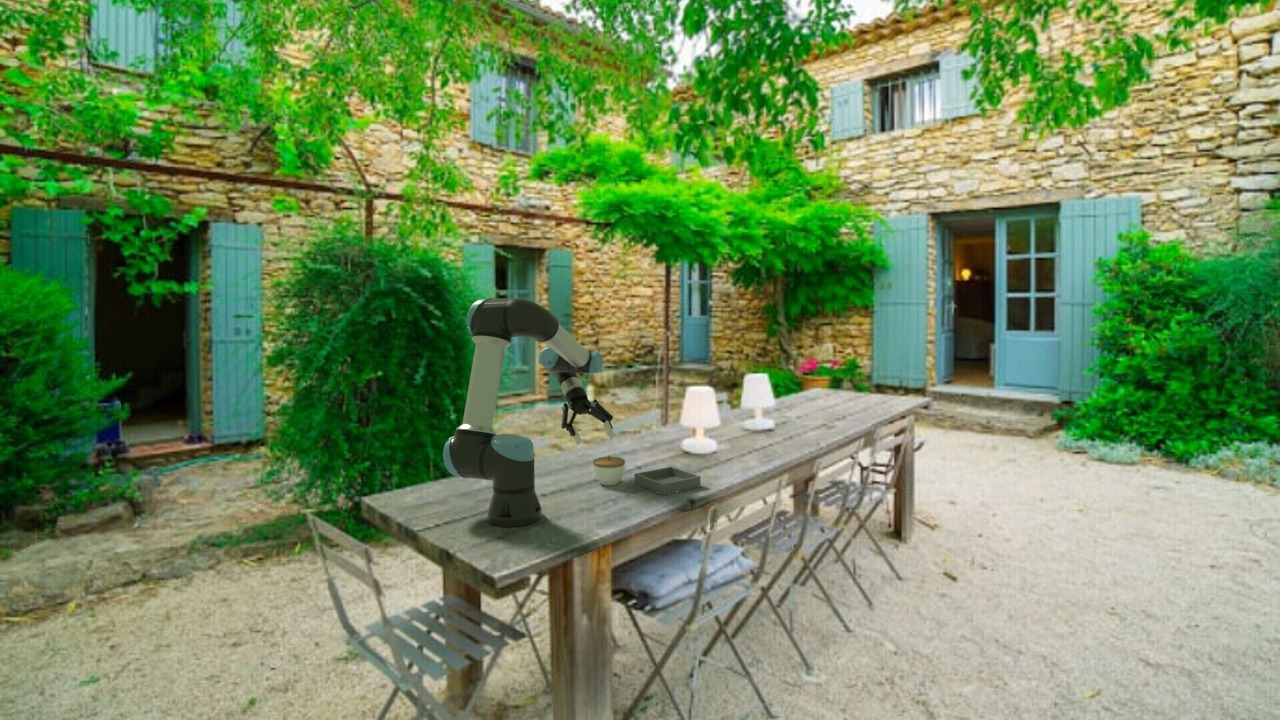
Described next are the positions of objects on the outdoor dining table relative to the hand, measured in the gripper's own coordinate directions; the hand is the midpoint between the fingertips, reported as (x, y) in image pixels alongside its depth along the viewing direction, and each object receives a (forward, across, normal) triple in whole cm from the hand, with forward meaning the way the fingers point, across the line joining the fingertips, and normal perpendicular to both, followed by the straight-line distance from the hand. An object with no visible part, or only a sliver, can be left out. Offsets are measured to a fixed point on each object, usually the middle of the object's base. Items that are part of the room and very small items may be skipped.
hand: (596, 440), depth 218 cm
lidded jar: (+16, +1, -3) cm, 16 cm away
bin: (+26, -13, +7) cm, 30 cm away
